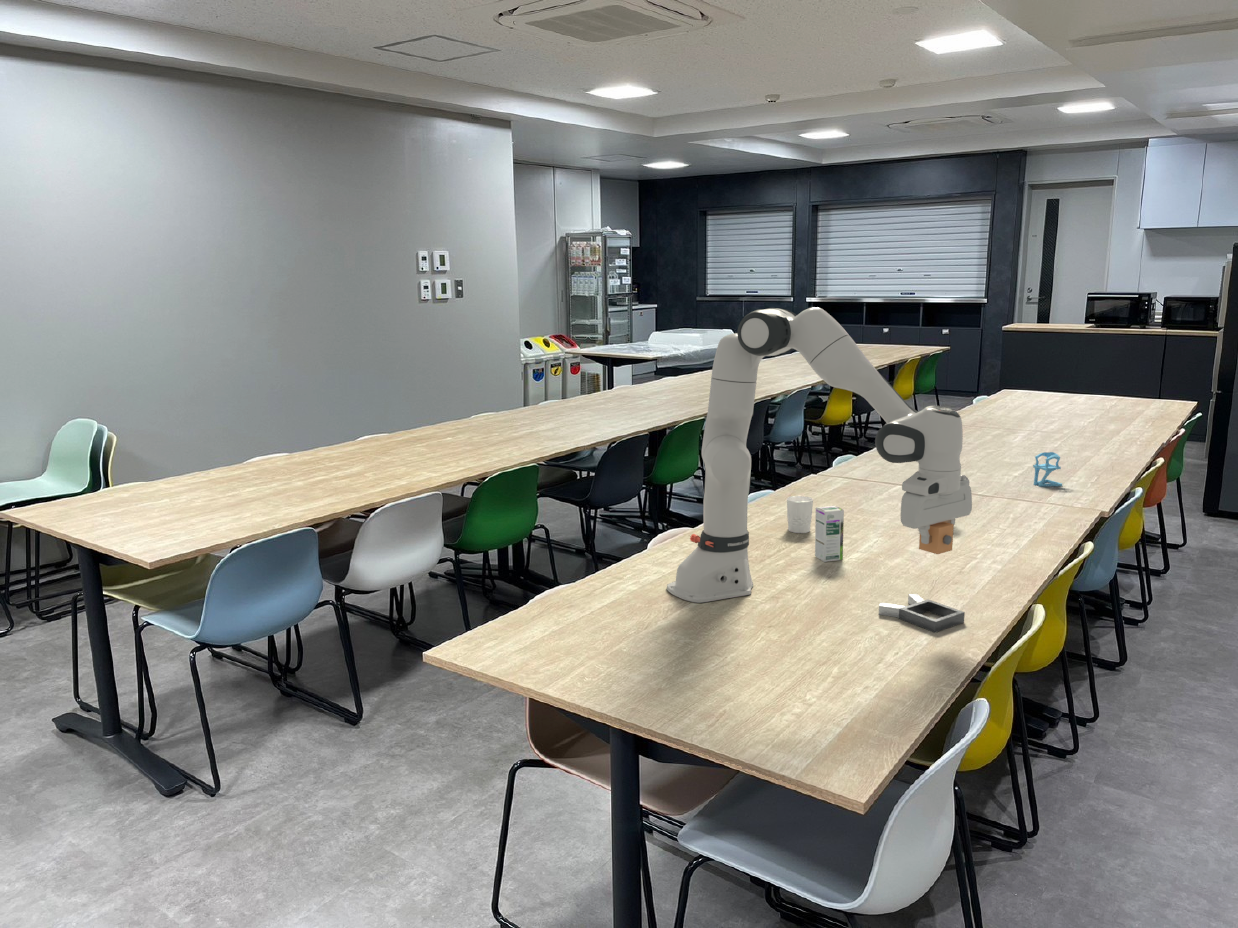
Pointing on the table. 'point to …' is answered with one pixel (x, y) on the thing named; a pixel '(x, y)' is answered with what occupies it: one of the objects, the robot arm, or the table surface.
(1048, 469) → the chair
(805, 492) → the table surface
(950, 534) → the block
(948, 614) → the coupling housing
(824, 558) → the syrup box
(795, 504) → the white cup
